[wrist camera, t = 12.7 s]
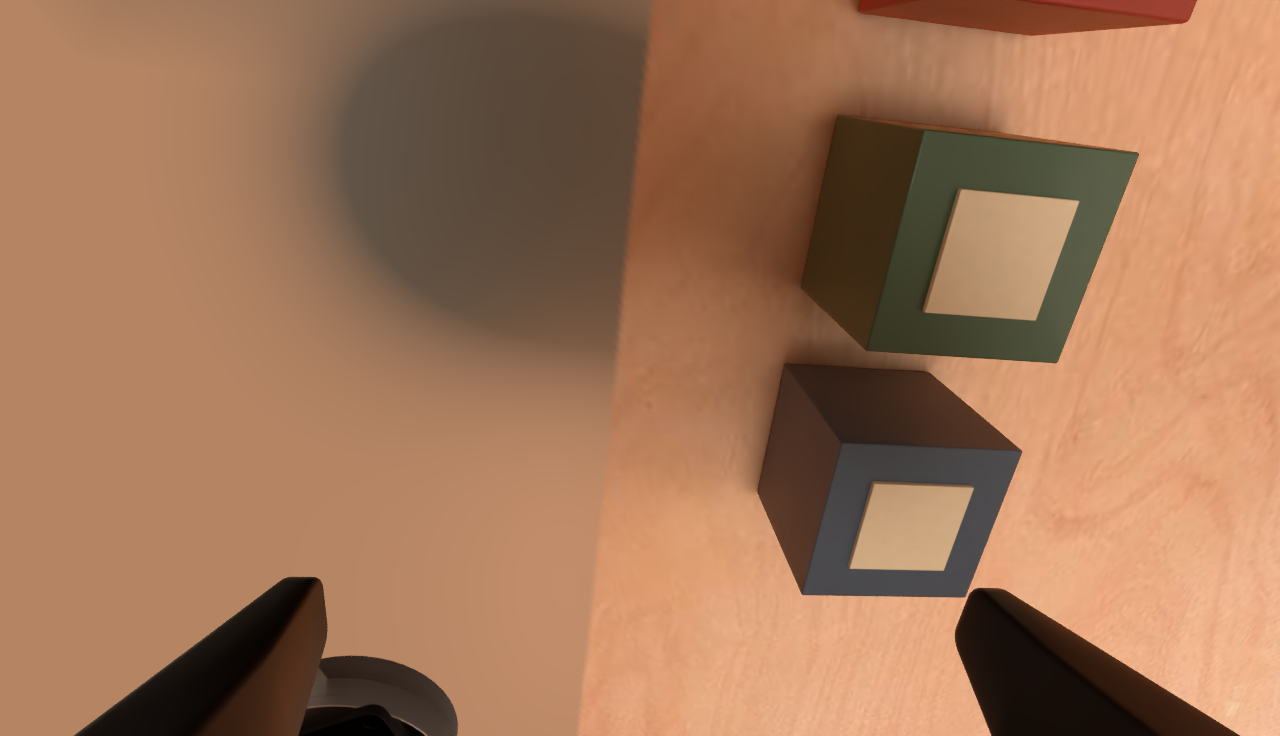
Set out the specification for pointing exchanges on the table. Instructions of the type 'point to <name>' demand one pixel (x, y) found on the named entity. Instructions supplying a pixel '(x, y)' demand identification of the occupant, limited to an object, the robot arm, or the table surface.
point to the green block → (959, 237)
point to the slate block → (881, 482)
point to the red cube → (1036, 13)
